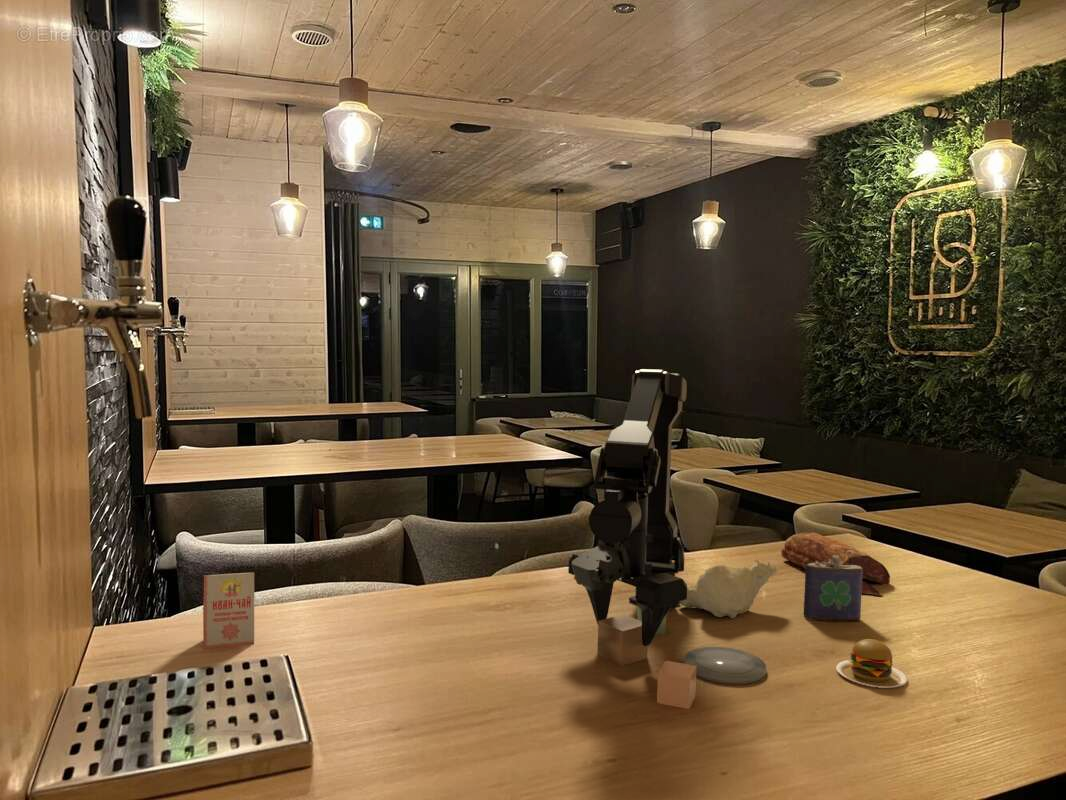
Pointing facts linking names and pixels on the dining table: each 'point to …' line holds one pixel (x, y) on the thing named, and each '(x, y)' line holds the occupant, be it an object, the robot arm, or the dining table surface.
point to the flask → (833, 591)
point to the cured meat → (823, 548)
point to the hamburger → (871, 663)
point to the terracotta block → (676, 684)
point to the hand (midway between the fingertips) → (623, 635)
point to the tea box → (228, 610)
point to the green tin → (661, 628)
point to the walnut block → (621, 640)
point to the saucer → (726, 665)
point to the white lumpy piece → (728, 588)
